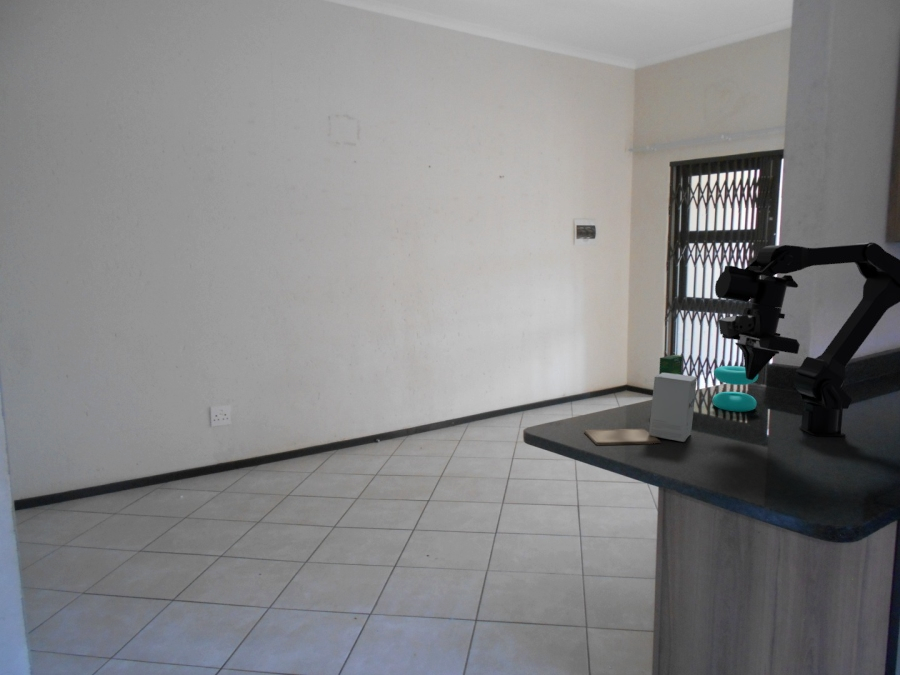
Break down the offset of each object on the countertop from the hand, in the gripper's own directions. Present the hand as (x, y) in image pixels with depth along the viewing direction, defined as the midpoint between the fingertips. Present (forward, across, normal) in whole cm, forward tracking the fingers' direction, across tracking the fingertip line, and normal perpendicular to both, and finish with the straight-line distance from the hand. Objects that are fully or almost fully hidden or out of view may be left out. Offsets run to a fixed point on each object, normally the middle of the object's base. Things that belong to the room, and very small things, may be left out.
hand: (749, 379), depth 127 cm
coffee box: (+13, -24, -4) cm, 28 cm away
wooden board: (+16, 0, -25) cm, 30 cm away
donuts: (+10, -22, +11) cm, 27 cm away
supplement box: (+14, 0, -14) cm, 21 cm away
